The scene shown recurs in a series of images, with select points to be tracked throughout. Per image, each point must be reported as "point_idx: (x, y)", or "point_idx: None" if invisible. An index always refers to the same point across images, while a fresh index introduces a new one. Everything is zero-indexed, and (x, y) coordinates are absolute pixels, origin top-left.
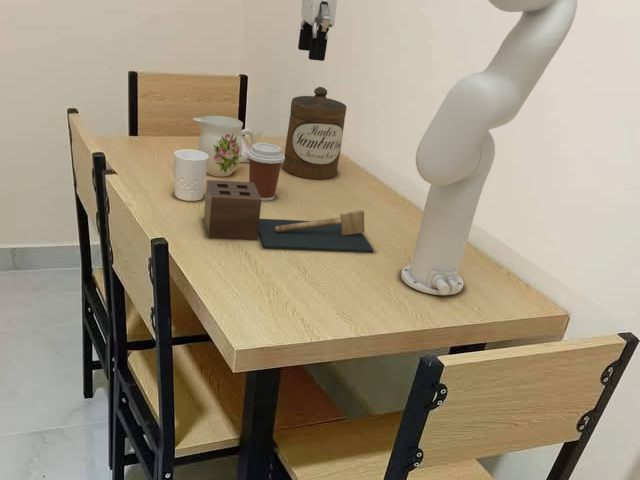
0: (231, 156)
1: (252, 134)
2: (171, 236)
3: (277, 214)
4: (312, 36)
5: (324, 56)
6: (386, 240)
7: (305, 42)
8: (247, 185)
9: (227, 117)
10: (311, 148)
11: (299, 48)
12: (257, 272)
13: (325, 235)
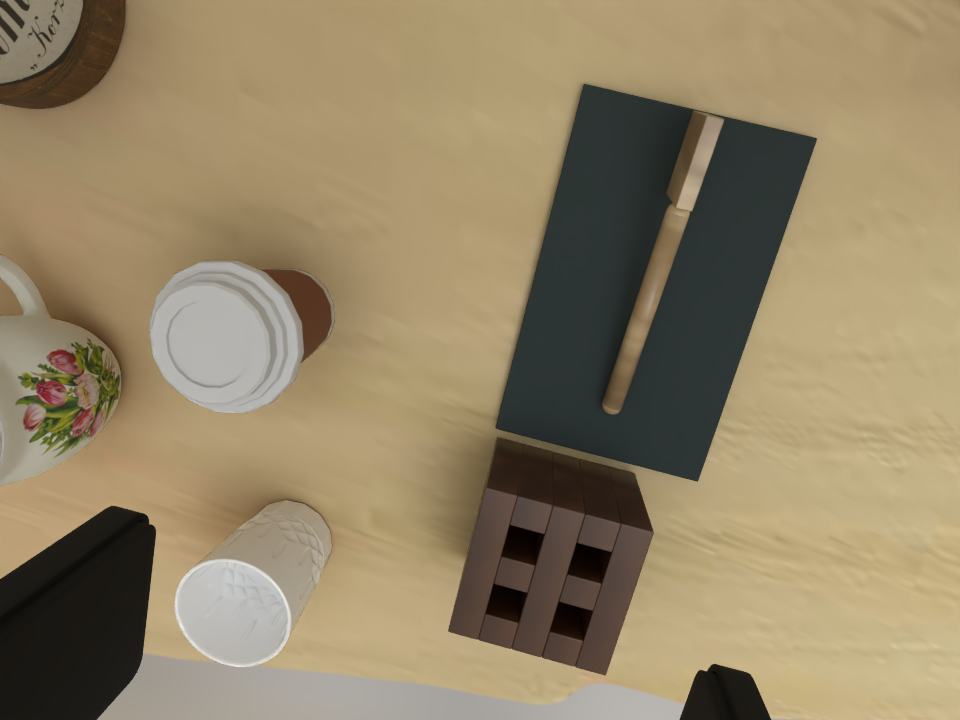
0: (90, 380)
1: None
2: (568, 676)
3: (453, 327)
4: (23, 655)
5: (760, 707)
6: (731, 26)
7: (86, 671)
8: (512, 522)
9: None
10: (27, 19)
11: (134, 674)
12: (837, 557)
13: None
